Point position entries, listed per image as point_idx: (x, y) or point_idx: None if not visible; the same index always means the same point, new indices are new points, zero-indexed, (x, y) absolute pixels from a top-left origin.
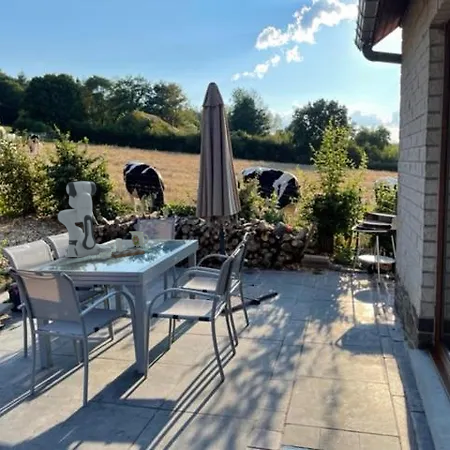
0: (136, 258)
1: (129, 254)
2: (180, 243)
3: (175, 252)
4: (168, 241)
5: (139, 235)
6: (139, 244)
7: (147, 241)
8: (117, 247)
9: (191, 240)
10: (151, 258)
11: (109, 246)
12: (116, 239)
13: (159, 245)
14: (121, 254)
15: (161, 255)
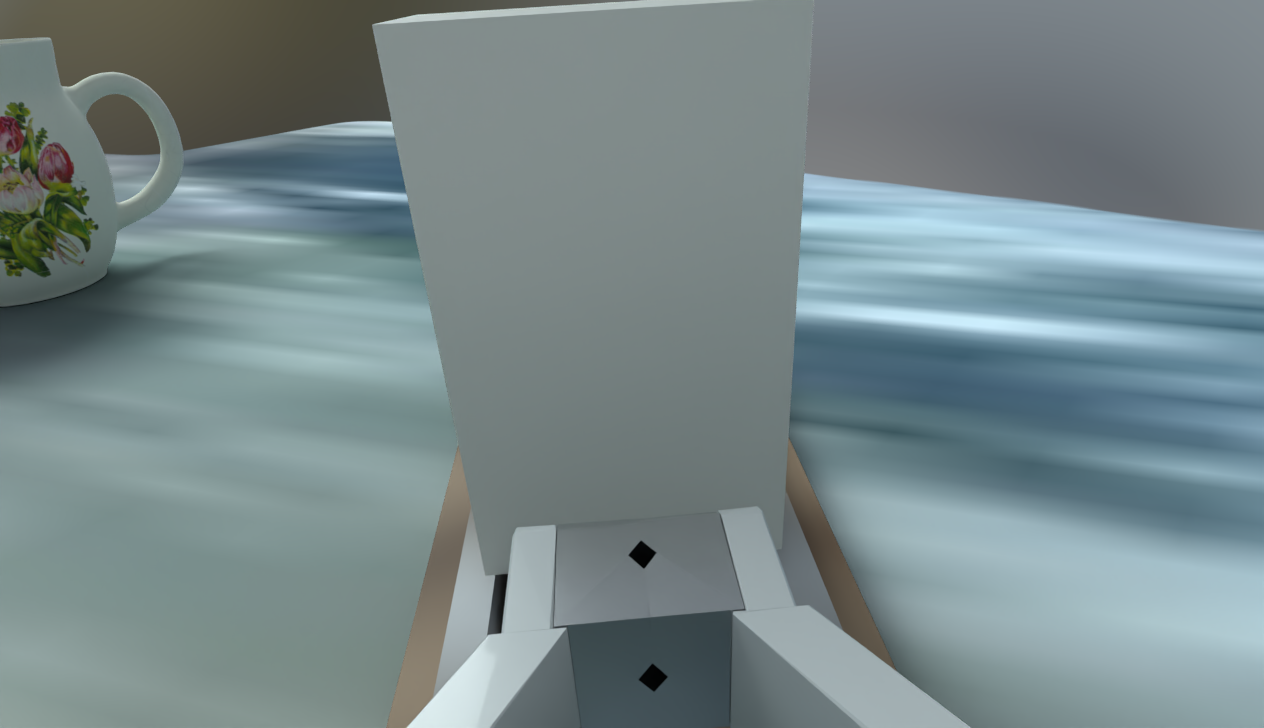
0: (1221, 438)
1: None
2: (391, 146)
3: (838, 180)
4: (190, 165)
5: (42, 91)
6: (97, 241)
7: (180, 172)
8: (607, 431)
9: (354, 124)
10: (1254, 309)
11: (542, 678)
12: (498, 47)
13: (285, 199)
14: (841, 575)
15: (987, 237)
